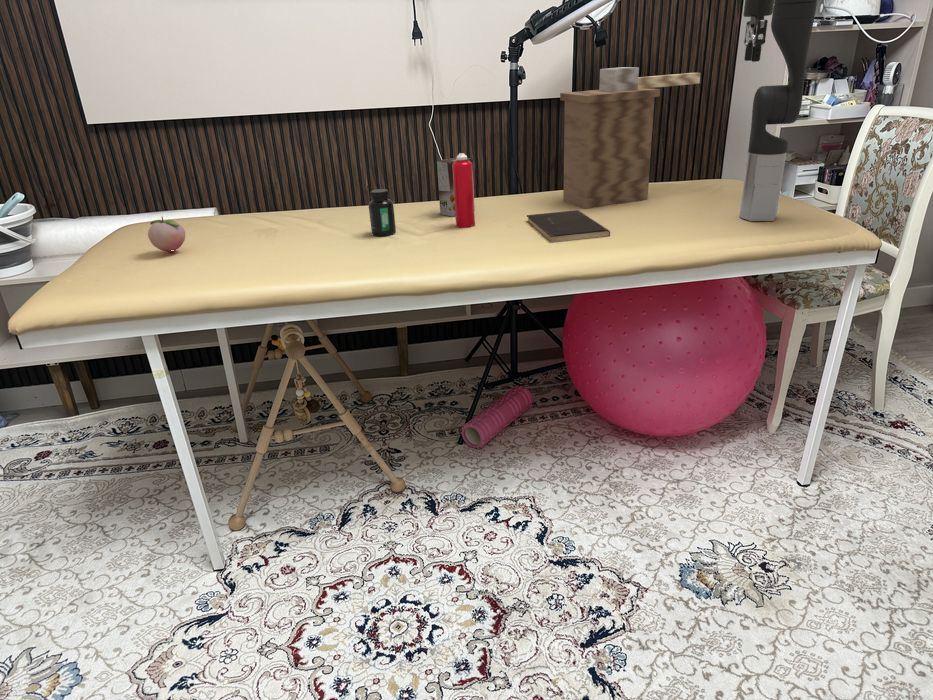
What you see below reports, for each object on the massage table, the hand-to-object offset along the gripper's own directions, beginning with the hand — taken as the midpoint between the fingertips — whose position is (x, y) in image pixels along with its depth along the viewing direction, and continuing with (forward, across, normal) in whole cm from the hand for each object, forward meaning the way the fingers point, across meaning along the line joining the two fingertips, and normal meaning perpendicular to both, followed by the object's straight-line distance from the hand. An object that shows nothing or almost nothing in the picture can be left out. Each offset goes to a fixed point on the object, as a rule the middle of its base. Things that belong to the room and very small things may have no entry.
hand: (751, 61), depth 182 cm
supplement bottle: (+38, +43, -102) cm, 117 cm away
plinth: (+38, +6, -40) cm, 55 cm away
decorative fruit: (+39, +61, -157) cm, 173 cm away
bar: (+6, -1, -27) cm, 28 cm away
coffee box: (+38, +20, -85) cm, 95 cm away
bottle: (+38, +35, -80) cm, 95 cm away
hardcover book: (+39, +39, -51) cm, 75 cm away
